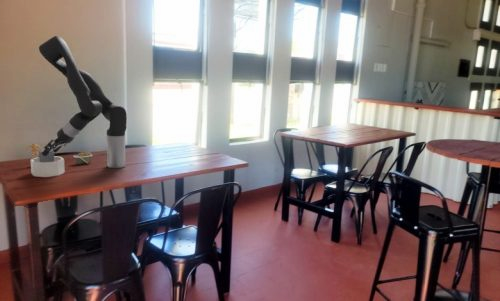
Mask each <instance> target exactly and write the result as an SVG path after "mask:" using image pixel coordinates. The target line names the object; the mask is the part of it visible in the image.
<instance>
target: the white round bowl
mask: <svg viewBox="0 0 500 301" xmlns="http://www.w3.org/2000/svg"><path fill="white" fill-rule="evenodd" d="M65 169H66V168H65V159H64V158H63V157H62V156H55V155H54V162H40V158H39V156H37V158H36V157H34V159H33V158H31V159H30V173H31V175H32V176H33V177H41V178H50V177H58V176H60V175H62V174H63V175H64V174H65V173H66V172H65Z"/></svg>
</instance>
